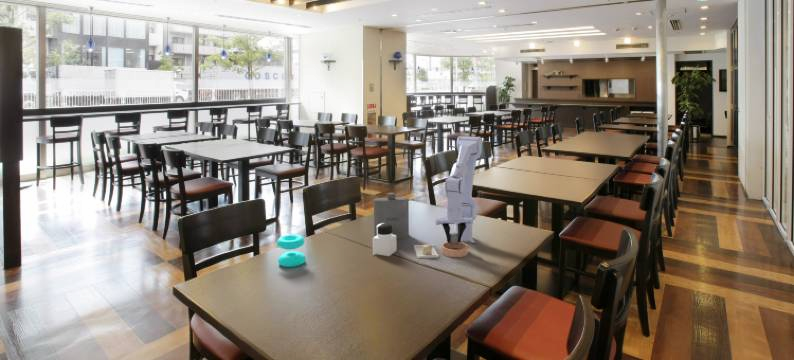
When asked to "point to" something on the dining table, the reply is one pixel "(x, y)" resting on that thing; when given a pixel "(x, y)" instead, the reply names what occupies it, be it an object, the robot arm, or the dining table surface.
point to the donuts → (291, 257)
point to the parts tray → (419, 254)
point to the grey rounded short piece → (453, 238)
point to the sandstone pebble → (427, 249)
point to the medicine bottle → (384, 240)
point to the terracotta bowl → (454, 253)
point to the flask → (392, 214)
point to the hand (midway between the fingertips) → (453, 241)
